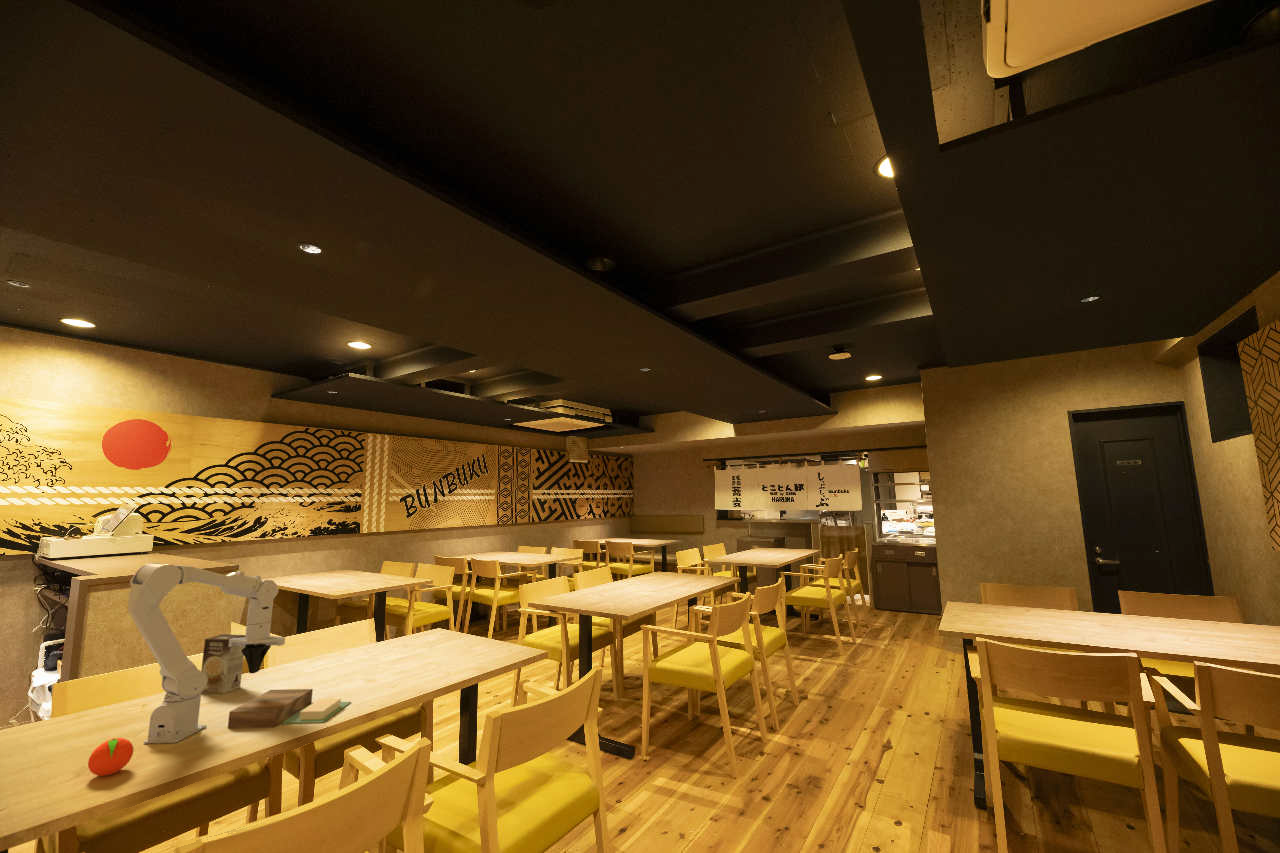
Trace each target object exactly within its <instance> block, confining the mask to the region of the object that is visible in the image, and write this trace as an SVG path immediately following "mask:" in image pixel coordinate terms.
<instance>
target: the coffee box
mask: <svg viewBox="0 0 1280 853" xmlns="http://www.w3.org/2000/svg"><path fill="white" fill-rule="evenodd" d="M245 635H246V634H230V633H229V634H228V633H221V634H219V635H214V636H211V637H208V638H207V637H206V638H205V639H204V644H203V646H204V647H203V652H202V653H203V654H202V661H201V669H200V671H202V672H204V673H205V674H206V675H207V678H208V681H207V685H206V687H205V688H204V689H203V691H202V692H201V694H217V695H218V694H221V695H222V694H223V695H224V694H226V693H228V692H231V691H235V690H236V689H238V688H241V684H242V676H243V675H242V674H243V666H244V658H245V656H244V655H243V653H242V649H244V648H245V646H232V647H228V646H229V640H230V639H233V638H243V637H245Z"/></svg>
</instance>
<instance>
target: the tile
mask: <svg viewBox="0 0 1280 853" xmlns="http://www.w3.org/2000/svg"><path fill="white" fill-rule="evenodd" d="M341 702H342V698H319V699H317V700H316V701H314V703H313V702H312V703H313V704H311V705H310V706H308V707H307V708H305V709H303V710H302V711H300V717H299V720H307V719H323V718H324V717H326V716H327V715H329V714H330V713H331V712H333V711H334V710H336V709H337V708H338V707H340V703H341Z"/></svg>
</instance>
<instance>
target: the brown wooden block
mask: <svg viewBox="0 0 1280 853" xmlns="http://www.w3.org/2000/svg"><path fill="white" fill-rule="evenodd" d="M313 690H314V689H313V688H310V689H309V688H304V689H303V688H300V689H299V688H298V689H289V688H288V689H269V690H268V691H266V692H264V693H262V694H260V695H259V696H257V697H255V698H252V699H251V700H249V701H246V702H245V703H243V704H241V705H240V706H239V705H238V706H237V707H236V708H233V709H232V710H230V711H229V712H228V722H227V723H228V724H227V729H235V728H236V729H238V728H239V729H245V728H246V729H247V728H249V729H250V728H252V729H253V728H276V727H277V726H279V725H280V724H281V722H283V721H284V720H286V719H287V718H289V717H291V716H292V715H294V714H295V713H297V712H298V711H300V710H302V709H303V708H305V707H306V706H308V705H309V704H311V703H313Z"/></svg>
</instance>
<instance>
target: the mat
mask: <svg viewBox="0 0 1280 853" xmlns="http://www.w3.org/2000/svg"><path fill="white" fill-rule="evenodd" d="M314 702H315V701H314ZM314 702H313V701H312V703H311V704H313V703H314ZM351 703H352V702H351V701H341V703H340V707H338V708H337V709H336V710H334V711H333V712H331V713H330V714H329V715H327V716H326V717H324V718H323V719H307V720H299V717H300V711H302V710H303V709H305V708H307V707H308V706H310V705H311V704H309V705H308V706H306V707H305V708H303V709H302V710H300V711H298V712H297V713H295V714H294V715H292V716H291V717H289V718H287V719H286V720H284V721H283V722H281V723H280V724H281V725H282V724H283V725H285V724H287V725H288V724H289V725H291V724H292V725H294V724H324V723H325V722H326V721H328V720H329V719H331V718H332V717H334V716H335V715H336V714H337V713H339V712H340V711H342V710H343V709H344V708H345V707H347V706H349V705H350V704H351ZM341 709H342V710H341Z"/></svg>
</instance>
